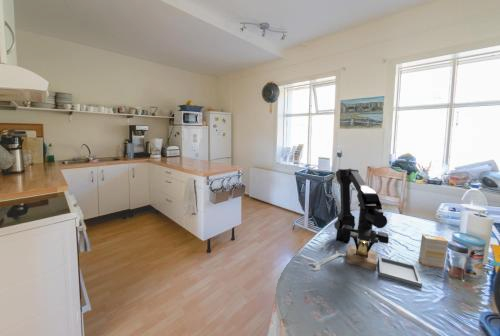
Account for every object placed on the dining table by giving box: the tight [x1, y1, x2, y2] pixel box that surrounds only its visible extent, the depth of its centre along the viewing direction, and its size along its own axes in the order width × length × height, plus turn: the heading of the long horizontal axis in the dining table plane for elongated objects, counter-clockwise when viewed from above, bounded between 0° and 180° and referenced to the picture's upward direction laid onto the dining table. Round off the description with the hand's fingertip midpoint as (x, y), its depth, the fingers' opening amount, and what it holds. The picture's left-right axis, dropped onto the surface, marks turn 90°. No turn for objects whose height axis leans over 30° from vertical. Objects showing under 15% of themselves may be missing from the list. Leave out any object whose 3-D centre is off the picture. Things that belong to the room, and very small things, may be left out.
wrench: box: [307, 250, 347, 272], centre depth 101 cm, size 25×2×5 cm
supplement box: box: [418, 233, 449, 269], centre depth 100 cm, size 8×5×13 cm, turn 71°
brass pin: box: [357, 239, 369, 258], centre depth 102 cm, size 4×4×9 cm
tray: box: [377, 255, 423, 289], centre depth 93 cm, size 14×14×2 cm
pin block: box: [345, 244, 378, 271], centre depth 102 cm, size 12×12×3 cm
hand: (362, 250), depth 102 cm, fingers closed on brass pin, 4 cm apart
